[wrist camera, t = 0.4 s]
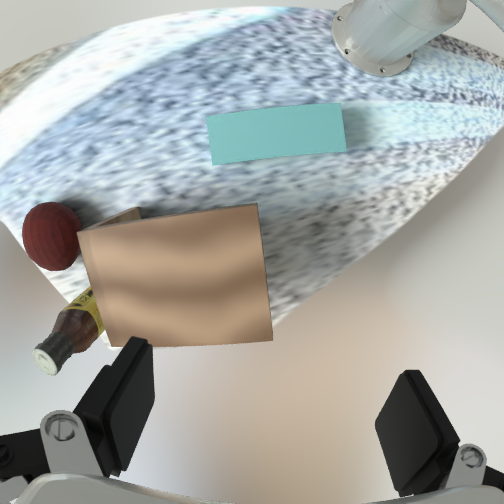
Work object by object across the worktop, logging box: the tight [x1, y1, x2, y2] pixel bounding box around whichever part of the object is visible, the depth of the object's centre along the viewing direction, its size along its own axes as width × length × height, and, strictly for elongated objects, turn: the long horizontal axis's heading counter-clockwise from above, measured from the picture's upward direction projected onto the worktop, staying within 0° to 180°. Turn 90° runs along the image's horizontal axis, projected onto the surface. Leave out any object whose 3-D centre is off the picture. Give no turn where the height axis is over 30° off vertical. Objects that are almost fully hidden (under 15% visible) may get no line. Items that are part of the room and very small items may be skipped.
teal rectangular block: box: [206, 103, 347, 165], centre depth 36 cm, size 16×6×5 cm, turn 97°
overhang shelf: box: [77, 203, 273, 347], centre depth 37 cm, size 14×19×14 cm
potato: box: [22, 202, 82, 271], centre depth 40 cm, size 12×11×8 cm
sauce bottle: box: [33, 286, 105, 376], centre depth 37 cm, size 6×6×20 cm
